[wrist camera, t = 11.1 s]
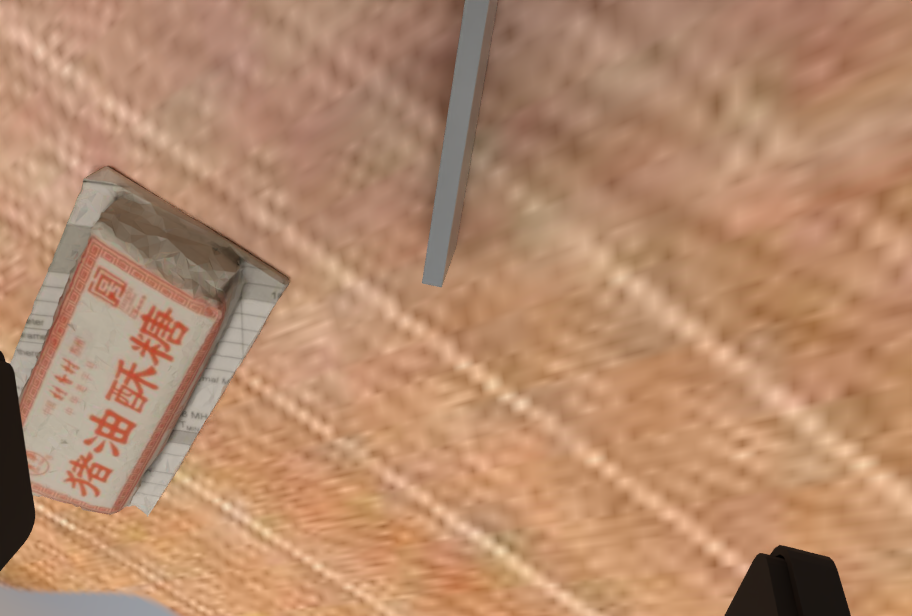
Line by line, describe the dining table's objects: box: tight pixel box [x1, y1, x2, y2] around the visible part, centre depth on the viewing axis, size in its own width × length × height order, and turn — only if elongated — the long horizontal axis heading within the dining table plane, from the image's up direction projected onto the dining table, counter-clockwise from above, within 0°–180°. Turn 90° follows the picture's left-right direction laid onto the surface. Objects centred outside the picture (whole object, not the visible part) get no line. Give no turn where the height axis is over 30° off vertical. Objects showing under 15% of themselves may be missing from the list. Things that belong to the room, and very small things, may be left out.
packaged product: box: [10, 166, 289, 517], centre depth 39 cm, size 18×5×10 cm
